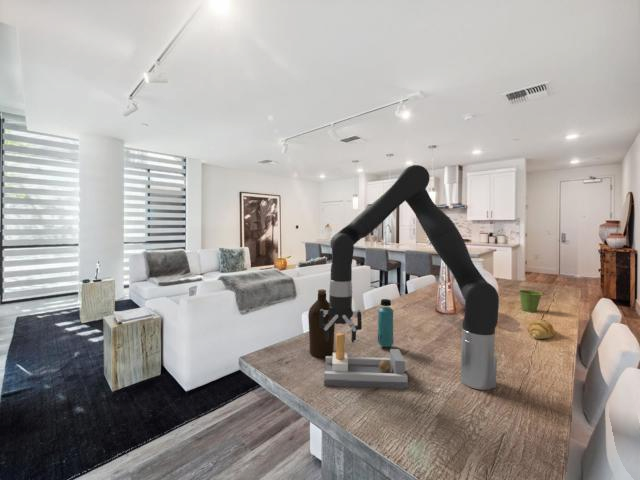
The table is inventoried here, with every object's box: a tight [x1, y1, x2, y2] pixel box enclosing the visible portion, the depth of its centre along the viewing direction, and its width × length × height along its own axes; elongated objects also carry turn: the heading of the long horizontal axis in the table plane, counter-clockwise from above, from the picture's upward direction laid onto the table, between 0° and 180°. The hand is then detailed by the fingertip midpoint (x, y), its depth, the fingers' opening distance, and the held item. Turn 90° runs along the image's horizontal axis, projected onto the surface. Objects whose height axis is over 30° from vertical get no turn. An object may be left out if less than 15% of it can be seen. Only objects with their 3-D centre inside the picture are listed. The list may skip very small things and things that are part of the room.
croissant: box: [526, 319, 555, 340], centre depth 139 cm, size 21×10×8 cm, turn 135°
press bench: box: [323, 348, 409, 389], centre depth 100 cm, size 26×14×8 cm, turn 87°
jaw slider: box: [332, 332, 348, 372], centre depth 100 cm, size 5×9×12 cm, turn 177°
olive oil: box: [307, 288, 336, 358], centre depth 117 cm, size 11×11×25 cm
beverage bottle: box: [377, 298, 395, 348], centre depth 123 cm, size 6×7×20 cm
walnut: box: [379, 360, 391, 373], centre depth 99 cm, size 4×4×4 cm
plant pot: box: [518, 289, 543, 313], centre depth 177 cm, size 12×12×11 cm
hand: (339, 340), depth 100 cm, fingers open, 8 cm apart
